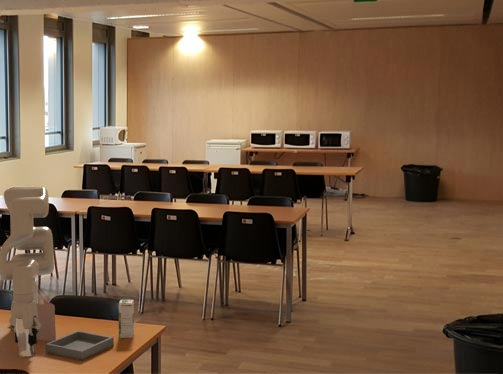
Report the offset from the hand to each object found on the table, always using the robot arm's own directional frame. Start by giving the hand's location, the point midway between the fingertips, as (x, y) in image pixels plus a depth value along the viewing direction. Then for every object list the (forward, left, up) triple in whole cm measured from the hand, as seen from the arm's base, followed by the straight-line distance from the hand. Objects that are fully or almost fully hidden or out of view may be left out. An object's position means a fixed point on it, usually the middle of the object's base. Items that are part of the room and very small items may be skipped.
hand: (26, 342), depth 271 cm
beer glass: (0, 0, -5) cm, 5 cm away
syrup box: (+20, +35, -5) cm, 41 cm away
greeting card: (-7, +16, -5) cm, 18 cm away
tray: (+14, +14, -5) cm, 20 cm away
